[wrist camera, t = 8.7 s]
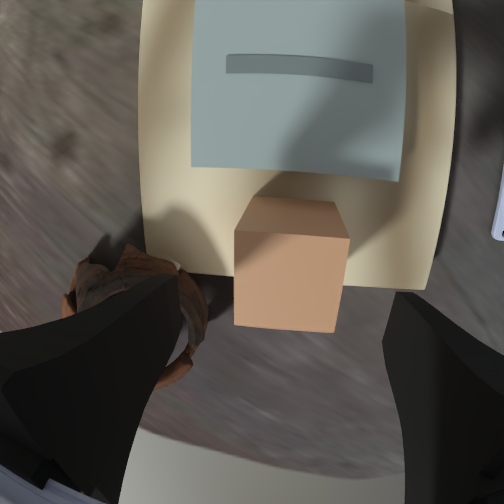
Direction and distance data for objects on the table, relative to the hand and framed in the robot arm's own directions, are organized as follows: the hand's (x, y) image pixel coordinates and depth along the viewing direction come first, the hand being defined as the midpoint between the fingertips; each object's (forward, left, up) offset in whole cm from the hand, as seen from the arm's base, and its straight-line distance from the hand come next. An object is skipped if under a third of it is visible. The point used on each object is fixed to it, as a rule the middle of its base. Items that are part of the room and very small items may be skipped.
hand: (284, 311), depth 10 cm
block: (0, 0, -7) cm, 7 cm away
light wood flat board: (0, -11, -9) cm, 14 cm away
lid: (0, -8, -6) cm, 10 cm away
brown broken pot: (+10, +6, -9) cm, 15 cm away
